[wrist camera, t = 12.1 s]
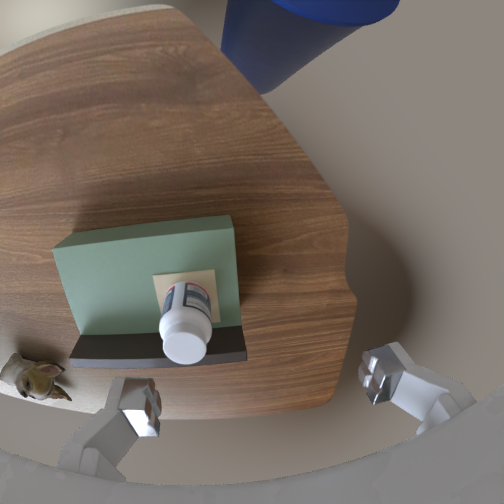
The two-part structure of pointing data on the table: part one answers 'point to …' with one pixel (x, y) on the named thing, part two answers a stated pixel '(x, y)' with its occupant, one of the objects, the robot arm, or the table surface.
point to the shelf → (148, 289)
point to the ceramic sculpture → (33, 378)
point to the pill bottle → (186, 322)
